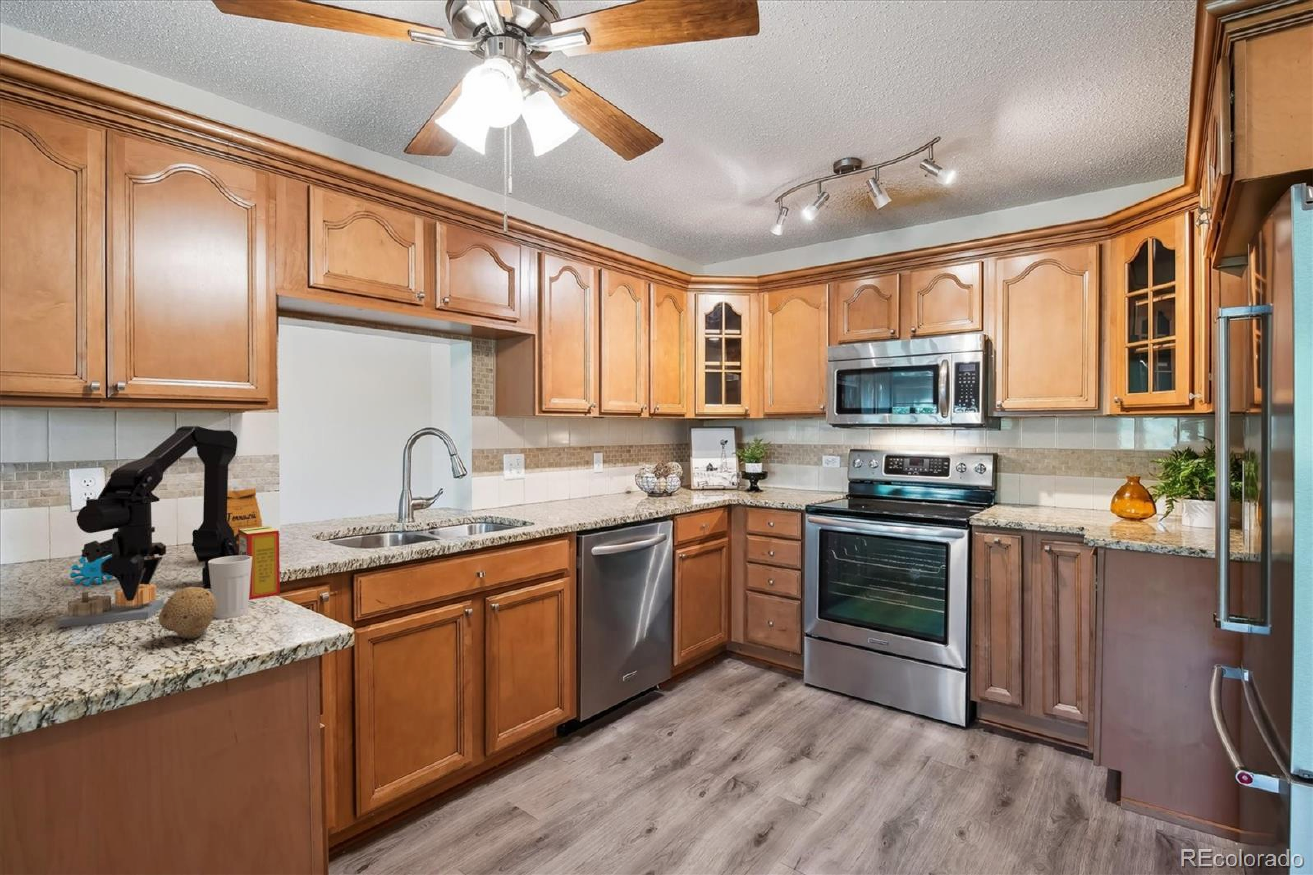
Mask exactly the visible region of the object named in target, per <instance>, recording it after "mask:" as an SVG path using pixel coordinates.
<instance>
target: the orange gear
mask: <svg viewBox="0 0 1313 875" xmlns="http://www.w3.org/2000/svg"><path fill="white" fill-rule="evenodd" d="M155 600H157V586H156V585H155V584H153V583H151V584H150V583H149V585H144V584H140V585H139V588H138V590H137V593H136V595H135V598H134V600H132V601H127V600H126V598H125V595H124V593H123V590H122V588H116V589H115V590H114V604H116V606H122V605H123V606H133V605H137V604H146V603H149V602H150V601H155Z"/></svg>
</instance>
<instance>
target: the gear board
mask: <svg viewBox="0 0 1313 875" xmlns="http://www.w3.org/2000/svg"><path fill="white" fill-rule="evenodd" d="M164 605H165V600H164V599H156V600H155V601H150V602H149V603H146V604H137V605H133V606H123V605H122V606H116V604H115V603H111V609H110V610H106V611H103V612H102V613H99V614H90V615H86V616H78V615H77V616H69V615H68V613H66V615H64V616H62V617H61V618H59V619H57V621H56V622H57V628H67V627H77V626H78V625H79V626H86V625H87V624H88V625H98V624H97V623H99V624H109V623H118V622H128V621H137V620H148V618H149V619H150V618H151V617H152V616H153V615H155V614H156V613H157V612H158V611H159V610H160V609H161V610H162V609H163V607H164ZM79 626H78V627H79Z"/></svg>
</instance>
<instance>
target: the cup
mask: <svg viewBox="0 0 1313 875" xmlns="http://www.w3.org/2000/svg"><path fill="white" fill-rule="evenodd" d="M208 566H209V573H210V582H211V588H210V590H211V591H210V592H211V593H212V594H213V595H214V597H215V598H216V602H217V605H216V611H215V615H214V618H213V619H233V618H238V617H242V616H245V615H247V614H248V613H249V612H250V611H249V609H250V608H249V602H250V600H249V591H250V577H251V566H252V557H251V556H228V557H221V558H216V559H212V560H210V561H208Z"/></svg>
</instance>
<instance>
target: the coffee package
mask: <svg viewBox="0 0 1313 875" xmlns="http://www.w3.org/2000/svg"><path fill="white" fill-rule="evenodd" d="M256 491H257V489H256V487H255V488H248V489H247V488H246V489H240V490H239V489H238V490H228V496H227V522H228V523H229V525H230V526H231V528H232V529H233V531H234V537H235V542H236V543H237V544H238V529H244V528H253V527H263V520H262V517H261V510H260V507H259V505H258V504H259V503H258V501H257V500H258V499H257V497H256V495H257V492H256Z"/></svg>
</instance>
